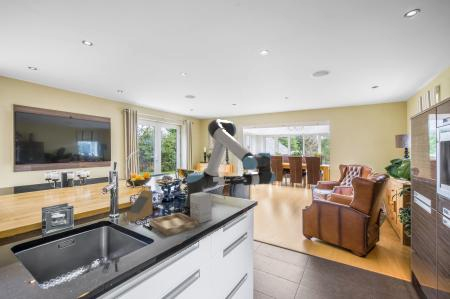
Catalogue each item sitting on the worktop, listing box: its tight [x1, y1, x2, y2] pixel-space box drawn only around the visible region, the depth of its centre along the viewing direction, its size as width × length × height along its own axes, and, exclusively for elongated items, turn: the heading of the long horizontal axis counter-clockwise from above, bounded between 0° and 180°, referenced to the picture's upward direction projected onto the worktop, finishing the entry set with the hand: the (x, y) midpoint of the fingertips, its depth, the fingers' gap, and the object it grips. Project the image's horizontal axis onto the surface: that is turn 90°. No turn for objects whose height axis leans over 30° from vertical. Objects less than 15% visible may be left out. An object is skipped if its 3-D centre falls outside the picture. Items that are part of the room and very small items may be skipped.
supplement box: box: [189, 191, 213, 224], centre depth 120 cm, size 9×9×15 cm
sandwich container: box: [123, 189, 153, 222], centre depth 127 cm, size 9×15×15 cm, turn 156°
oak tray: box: [149, 212, 200, 237], centre depth 111 cm, size 18×20×3 cm
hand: (215, 180), depth 120 cm, fingers open, 13 cm apart
